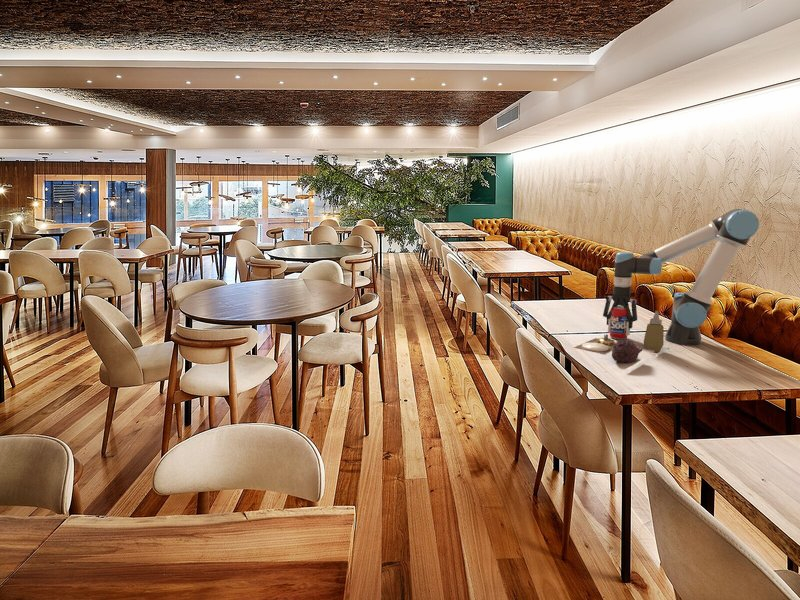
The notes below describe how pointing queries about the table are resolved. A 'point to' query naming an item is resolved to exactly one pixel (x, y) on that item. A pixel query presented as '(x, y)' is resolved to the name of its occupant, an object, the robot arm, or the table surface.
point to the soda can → (618, 323)
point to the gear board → (596, 351)
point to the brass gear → (605, 340)
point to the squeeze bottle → (654, 334)
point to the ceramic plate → (595, 347)
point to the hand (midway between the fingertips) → (618, 333)
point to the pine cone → (625, 351)
